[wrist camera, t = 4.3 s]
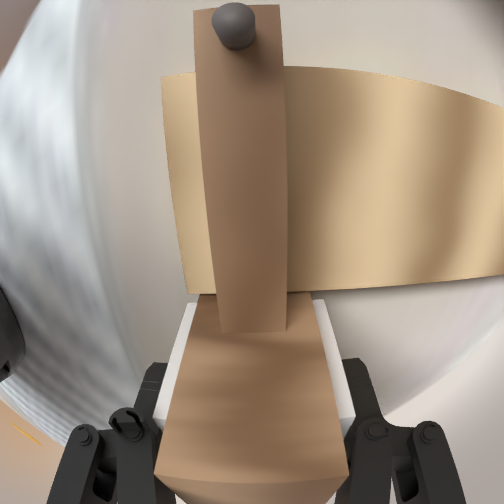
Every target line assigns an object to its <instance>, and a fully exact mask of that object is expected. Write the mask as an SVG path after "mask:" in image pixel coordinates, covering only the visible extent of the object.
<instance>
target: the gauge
mask: <svg viewBox="0 0 504 504" xmlns="http://www.w3.org/2000/svg"><path fill="white" fill-rule="evenodd" d="M193 16H194V50H195V72H196V91H197V107H198V122H199V136H200V148H201V160H202V172H203V182H204V193H205V203H206V212H207V222H208V231H209V239H210V248H211V256H212V264H213V272H214V280H215V287H216V294H200V296H199V299H198V303H197V306H196V310H195V313H194V317H193V320H192V324H191V327H190V331H189V334H188V338H187V341H186V345H185V349H184V352H183V356H182V360H181V363H180V367H179V371H178V375H177V379H176V382H175V386H174V390H173V394H172V398H171V402H170V406H169V410H168V414H167V418H166V422H165V426H164V431H163V435H162V439H161V443H160V448H159V452H158V457H157V461H156V466H155V470H154V475H155V476H156V477H158V478H159V479H160V480H161V481H162V482H163V483H164V484H165V485H166V486H167V487H168V488H169V489H170V490H171V491H173V492H174V493H175V494H176V495H177V496H178V497H179V498H181V499H182V500H183V501H184V502H185V503H186V504H325V503H326V502H327V501H328V500H329V499H330V498H331V497H332V496H333V494H334V493H335V492H336V491H337V490H338V488H339V487H340V486H341V485H342V484H343V482H344V481H345V480H346V479H347V477H348V476H349V470H348V464H347V458H346V452H345V447H344V441H343V436H342V431H341V426H340V420H339V415H338V410H337V405H336V401H335V396H334V391H333V386H332V382H331V377H330V373H329V368H328V364H327V359H326V355H325V351H324V346H323V342H322V338H321V334H320V330H319V326H318V322H317V317H316V313H315V309H314V306H313V302H312V298H311V294H310V291H294V292H287V231H288V213H287V143H286V111H285V87H284V67H283V49H282V34H281V20H280V7H279V5H244V4H242V3H228V4H225V5H222V6H221V7H219V8H210V9H202V10H196V11H193Z"/></svg>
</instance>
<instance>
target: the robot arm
mask: <svg viewBox="0 0 504 504" xmlns="http://www.w3.org/2000/svg"><path fill="white" fill-rule="evenodd" d="M312 302H313V306H314V309H315V313H316V317H317V322H318V326H319V330H320V334H321V338H322V342H323V346H324V351H325V355H326V359H327V364H328V368H329V373H330V377H331V382H332V386H333V391H334V396H335V401H336V405H337V410H338V415H339V420H340V426H341V431H342V436H343V441H344V447H345V452H346V458H347V464H348V470H349V476H348V477H347V479H346V480H345V481H344V482H343V484H342V485H341V486H340V487H339V488H338V490H337V492H336V498H335V503H334V504H389V501H390V490H391V476H392V481H393V486H394V491H395V496H396V501H397V504H466V501H465V497H464V493H463V490H462V486H461V483H460V479H459V476H458V473H457V469H456V466H455V463H454V460H453V457H452V454H451V451H450V448H449V445H448V442H447V439H446V437H445V434H444V431H443V429H442V428H441V426H440V425H438V424H437V423H436V422H432V421H424V422H422V423H420V424H418V425H417V426H416V427H415V428H414V427H399V426H394V425H392V424H390V423H388V422H387V421H386V420H385V419H384V418H383V416H382V414H381V411H380V408H379V404H378V401H377V398H376V395H375V392H374V389H373V386H372V383H371V379H370V378H369V373H368V371H367V368H366V366H365V364H364V363H363V362H362V361H361V360H360V359H359V358H353V359H343V360H341V357H340V353H339V350H338V346H337V343H336V339H335V336H334V332H333V329H332V325H331V322H330V319H329V315H328V312H327V309H326V305H325V302H324V299H317V300H312ZM196 306H197V303H188V304H187V307H186V310H185V313H184V316H183V319H182V322H181V325H180V328H179V331H178V334H177V337H176V340H175V344H174V347H173V350H172V353H171V356H170V360H169V363H157V362H154V363H153V364H152V365H151V366H150V367H149V368H148V369H147V370H146V373H145V376H144V379H143V382H142V384H141V387H140V390H139V393H138V396H137V399H136V402H135V404H134V407H133V408H127V407H126V408H121V409H119V410H117V411H115V412H114V413H113V414H112V415H111V417H110V419H109V422H108V423H109V424H110V425H111V427H112V428H113V429H111V430H98V431H97V430H96V429H95V427H93V426H91V425H89V424H82V425H79V426H77V427H76V428H75V429H74V430H73V431H72V433H71V435H70V437H69V440H68V442H67V445H66V447H65V450H64V453H63V456H62V458H61V461H60V464H59V467H58V469H57V472H56V475H55V478H54V481H53V484H52V487H51V490H50V494H49V497H48V500H47V504H117V502H118V504H176V498H175V493H174V492H173V491H171V490H170V489H169V488H168V487H167V486H166V485H165V484H164V483H163V482H162V481H161V480H160V479H159V478H158V477H156V476H155V475H154V470H155V466H156V461H157V457H158V452H159V448H160V443H161V439H162V435H163V431H164V426H165V422H166V418H167V414H168V410H169V406H170V402H171V398H172V394H173V390H174V386H175V382H176V379H177V375H178V371H179V367H180V363H181V360H182V356H183V352H184V349H185V345H186V341H187V338H188V334H189V331H190V327H191V324H192V320H193V317H194V313H195V310H196ZM24 354H25V347H24V341H23V337H22V334H21V331H20V328H19V326H18V323H17V321H16V319H15V316H14V314H13V312H12V310H11V308H10V306H9V304H8V302H7V300H6V298H5V297H4V295H3V293H2V291H1V290H0V382H2V381H3V380H5V379H6V378H7V377H9V376H10V375H11V374H12V373H13V372H14V371H15V370H16V368H17V367H18V365H19V364H20V362H21V361H22V359H23V357H24Z"/></svg>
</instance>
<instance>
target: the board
mask: <svg viewBox="0 0 504 504" xmlns="http://www.w3.org/2000/svg"><path fill="white" fill-rule="evenodd" d="M283 67H284V87H285V111H286V143H287V213H288V231H287V292H294V291H317V290H336V289H353V288H368V287H383V286H396V285H408V284H419V283H430V282H441V281H450V280H460V279H469V278H477V277H486V276H494V275H502V274H504V108H502V107H499V106H497V105H494V104H492V103H489V102H487V101H484V100H481V99H478V98H475V97H473V96H470V95H466V94H463V93H460V92H457V91H454V90H450V89H447V88H443V87H439V86H436V85H432V84H428V83H424V82H419V81H415V80H410V79H406V78H400V77H395V76H390V75H384V74H378V73H371V72H363V71H355V70H346V69H336V68H322V67H301V66H283ZM161 89H162V105H163V118H164V130H165V141H166V151H167V160H168V169H169V178H170V186H171V194H172V201H173V208H174V215H175V222H176V229H177V235H178V241H179V247H180V253H181V259H182V265H183V271H184V276H185V281H186V287H187V292H188V294H216V287H215V280H214V272H213V264H212V256H211V248H210V239H209V231H208V222H207V212H206V203H205V193H204V182H203V172H202V160H201V148H200V136H199V122H198V107H197V91H196V72H191V73H184V74H177V75H171V76H166V77H161Z"/></svg>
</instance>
